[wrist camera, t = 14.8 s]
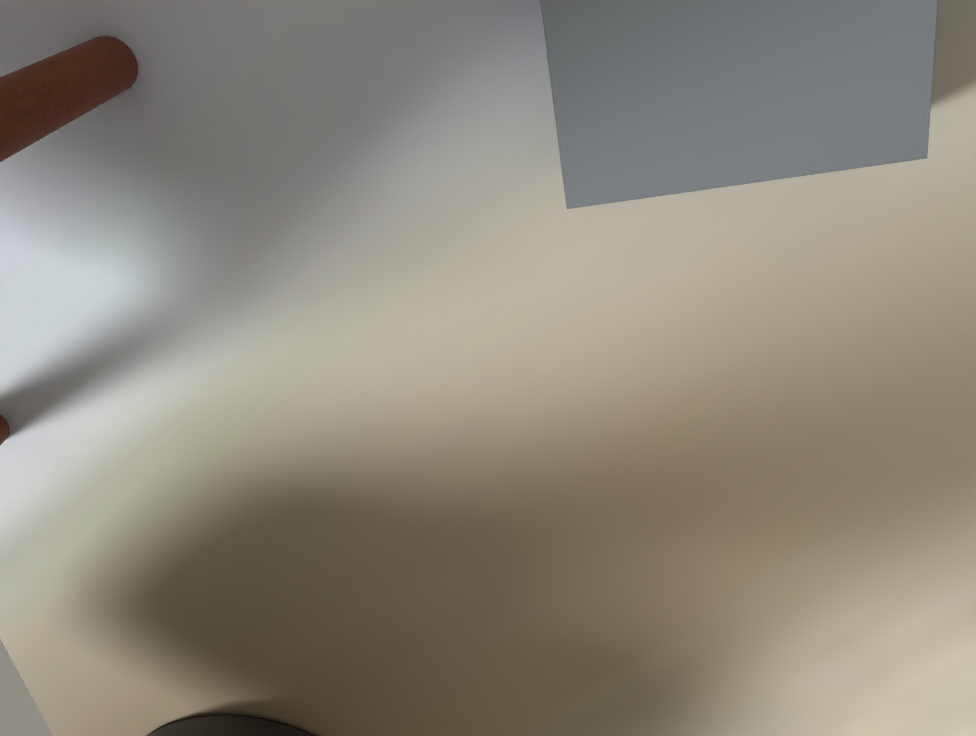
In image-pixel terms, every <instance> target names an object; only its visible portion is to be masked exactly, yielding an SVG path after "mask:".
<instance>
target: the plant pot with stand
mask: <svg viewBox="0 0 976 736" xmlns="http://www.w3.org/2000/svg"><path fill="white" fill-rule="evenodd" d="M137 67H138V66H137V62H136V59H135V56H134V55H133V53H132V51H131V50H130V48H129V47H128V46H127V45H125V44H124V43H123V42H122V41H120V40H118V39H116V38H114V37H109V36H101V37H96V38H94V39H92V40H89V41H87V42H84V43H82V44H80V45H77V46H75V47H72V48H70V49H68V50H65V51H63V52H60V53H58V54H56V55H53V56H51V57H48V58H46V59H44V60H41V61H39V62H36V63H34V64H32V65H29V66H27V67H24V68H22V69H19V70H17V71H15V72H12V73H10V74H7V75H5V76H3V77H0V162H1V161H3V160H5V159H6V158H8V157H10V156H12V155H13V154H15V153H17V152H19V151H20V150H22V149H24V148H26V147H27V146H29V145H31V144H33V143H34V142H36V141H38V140H40V139H41V138H43V137H45V136H46V135H48V134H50V133H52V132H53V131H55V130H57V129H59V128H60V127H62V126H64V125H66V124H67V123H69V122H71V121H73V120H74V119H76V118H78V117H80V116H81V115H83V114H85V113H86V112H88V111H90V110H92V109H93V108H95V107H97V106H99V105H100V104H102V103H104V102H106V101H107V100H109V99H111V98H113V97H114V96H116V95H118V94H119V93H121V92H123V91H125V90H126V89H128V88H130V87H131V86H132V84H133V83H134V82H135V80H136V77H137ZM8 434H9V427H8V425H7V422H6V421H5V420H4V418H3V417H2V416H0V445H1V444H2V443H3V442H4V441H5V439H6V438H7V436H8Z"/></svg>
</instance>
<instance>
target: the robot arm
mask: <svg viewBox="0 0 976 736" xmlns="http://www.w3.org/2000/svg"><path fill="white" fill-rule="evenodd" d="M0 736H53V734H52V732H51V730H50V729H49V727H48V725H47V723H46V721H45V720H44V718H43V716H42V714H41V712H40V710H39V709H38V707H37V705H36V703H35V701H34V700H33V698H32V696H31V694H30V692H29V691H28V689H27V687H26V685H25V683H24V681H23V680H22V678H21V676H20V674H19V672H18V671H17V669H16V667H15V665H14V663H13V661H12V660H11V658H10V656H9V654H8V652H7V651H6V649H5V647H4V645H3V643H2V641H1V640H0ZM148 736H311V735H309V734H307V733H305V732H303V731H300V730H298V729H295V728H292V727H290V726H286V725H283V724H280V723H276V722H272V721H268V720H263V719H258V718H251V717H243V716H206V717H198V718H192V719H187V720H183V721H179V722H176V723H173V724H170V725H167V726H165V727H163V728H160V729H158V730H156V731H155V732H153V733H151V734H150V735H148Z"/></svg>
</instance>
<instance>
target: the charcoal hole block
mask: <svg viewBox="0 0 976 736" xmlns="http://www.w3.org/2000/svg"><path fill="white" fill-rule="evenodd" d="M937 3H938V0H541V8H542V16H543V24H544V32H545V40H546V48H547V56H548V64H549V71H550V79H551V87H552V95H553V103H554V111H555V119H556V127H557V135H558V143H559V150H560V158H561V166H562V174H563V182H564V190H565V198H566V206H567V209H571V208H578V207H585V206H592V205H599V204H606V203H613V202H620V201H627V200H634V199H642V198H649V197H656V196H663V195H670V194H677V193H684V192H691V191H698V190H705V189H712V188H720V187H727V186H734V185H741V184H748V183H755V182H762V181H769V180H776V179H783V178H791V177H798V176H805V175H812V174H819V173H826V172H833V171H840V170H847V169H854V168H862V167H869V166H876V165H883V164H890V163H897V162H904V161H911V160H918V159H925V158H927V153H928V138H929V123H930V108H931V93H932V78H933V63H934V48H935V33H936V18H937Z"/></svg>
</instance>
